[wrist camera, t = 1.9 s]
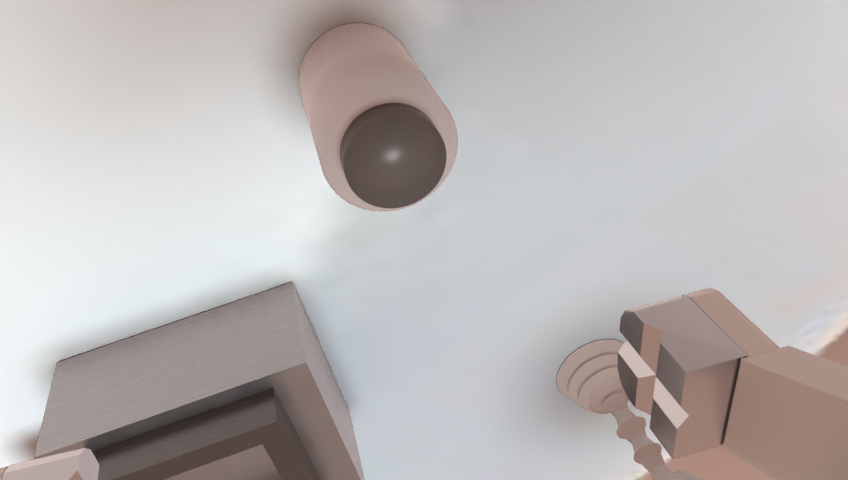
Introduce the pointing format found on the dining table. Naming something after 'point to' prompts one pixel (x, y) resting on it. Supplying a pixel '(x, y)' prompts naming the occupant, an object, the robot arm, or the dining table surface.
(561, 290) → the dining table surface
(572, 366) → the chalice
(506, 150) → the dining table surface
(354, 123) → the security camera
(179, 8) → the dining table surface
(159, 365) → the motor block
